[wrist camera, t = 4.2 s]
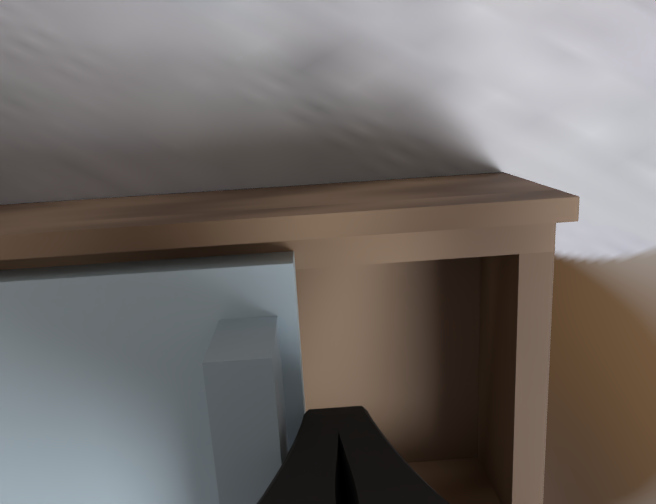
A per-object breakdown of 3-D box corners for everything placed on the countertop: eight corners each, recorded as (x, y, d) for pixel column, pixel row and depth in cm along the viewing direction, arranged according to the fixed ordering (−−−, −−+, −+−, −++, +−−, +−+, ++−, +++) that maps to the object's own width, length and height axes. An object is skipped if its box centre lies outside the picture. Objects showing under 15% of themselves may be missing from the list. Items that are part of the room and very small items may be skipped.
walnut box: (503, 172, 15) (579, 196, 11) (496, 481, 18) (556, 598, 14) (-83, 210, 15) (-237, 250, 11) (-5, 521, 17) (-104, 654, 13)
